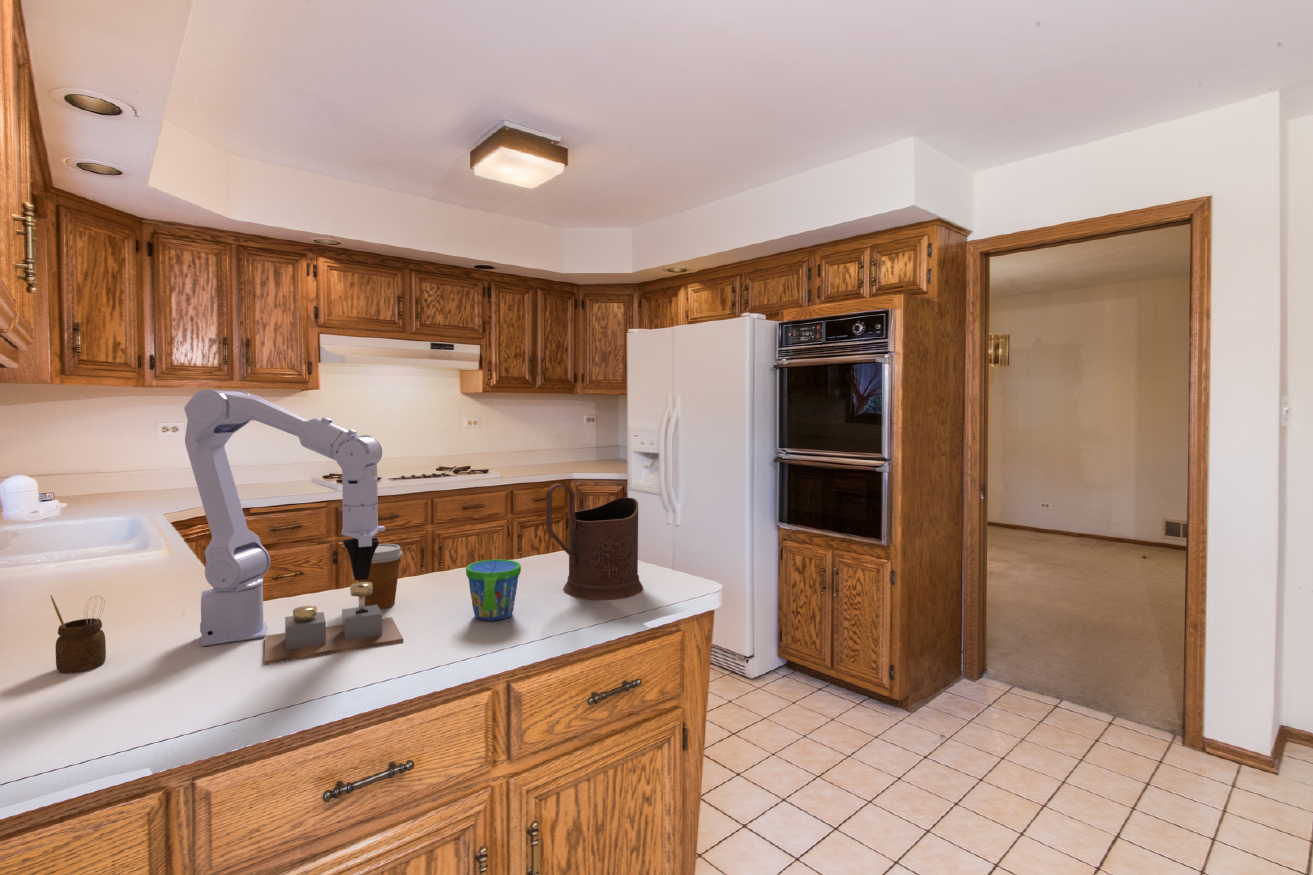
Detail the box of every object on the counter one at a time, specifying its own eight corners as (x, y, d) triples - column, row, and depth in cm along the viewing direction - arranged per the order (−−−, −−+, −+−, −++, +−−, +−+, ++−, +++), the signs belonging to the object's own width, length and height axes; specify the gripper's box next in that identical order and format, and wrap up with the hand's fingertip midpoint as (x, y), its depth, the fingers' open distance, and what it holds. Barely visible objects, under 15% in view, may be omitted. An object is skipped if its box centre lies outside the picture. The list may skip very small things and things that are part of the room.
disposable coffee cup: (385, 613, 130) (384, 554, 130) (342, 610, 132) (342, 551, 132) (412, 600, 140) (411, 544, 139) (372, 597, 142) (371, 542, 141)
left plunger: (293, 645, 111) (293, 613, 111) (293, 638, 114) (292, 607, 114) (317, 641, 113) (317, 610, 112) (316, 635, 116) (316, 604, 115)
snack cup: (513, 629, 122) (513, 575, 122) (456, 629, 122) (456, 575, 121) (526, 603, 138) (526, 556, 137) (476, 603, 138) (476, 556, 137)
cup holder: (660, 590, 149) (661, 481, 148) (570, 610, 134) (571, 489, 132) (612, 573, 163) (612, 474, 162) (526, 590, 148) (526, 480, 147)
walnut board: (264, 664, 105) (264, 660, 105) (265, 638, 116) (265, 635, 116) (403, 641, 115) (403, 638, 115) (392, 620, 126) (392, 617, 126)
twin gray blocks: (285, 650, 109) (285, 627, 109) (285, 638, 114) (284, 616, 114) (382, 635, 117) (381, 613, 117) (377, 625, 122) (377, 604, 122)
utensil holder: (108, 667, 103) (106, 592, 102) (54, 678, 99) (51, 600, 98) (104, 656, 107) (102, 584, 107) (52, 667, 103) (49, 591, 102)
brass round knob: (351, 619, 115) (351, 588, 115) (349, 613, 118) (349, 583, 118) (373, 616, 117) (373, 585, 117) (371, 610, 120) (371, 581, 120)
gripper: (390, 508, 112) (391, 585, 113) (378, 497, 125) (379, 567, 126) (345, 511, 109) (346, 591, 110) (338, 499, 121) (339, 571, 122)
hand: (361, 579), depth 117 cm, fingers closed
